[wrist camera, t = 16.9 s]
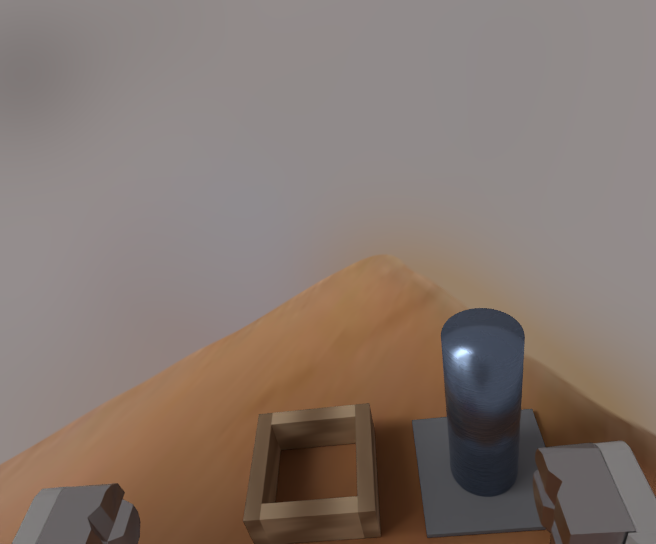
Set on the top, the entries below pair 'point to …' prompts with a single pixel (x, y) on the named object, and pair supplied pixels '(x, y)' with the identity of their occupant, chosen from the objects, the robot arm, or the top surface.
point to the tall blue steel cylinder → (483, 398)
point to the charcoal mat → (464, 507)
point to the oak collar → (321, 514)
